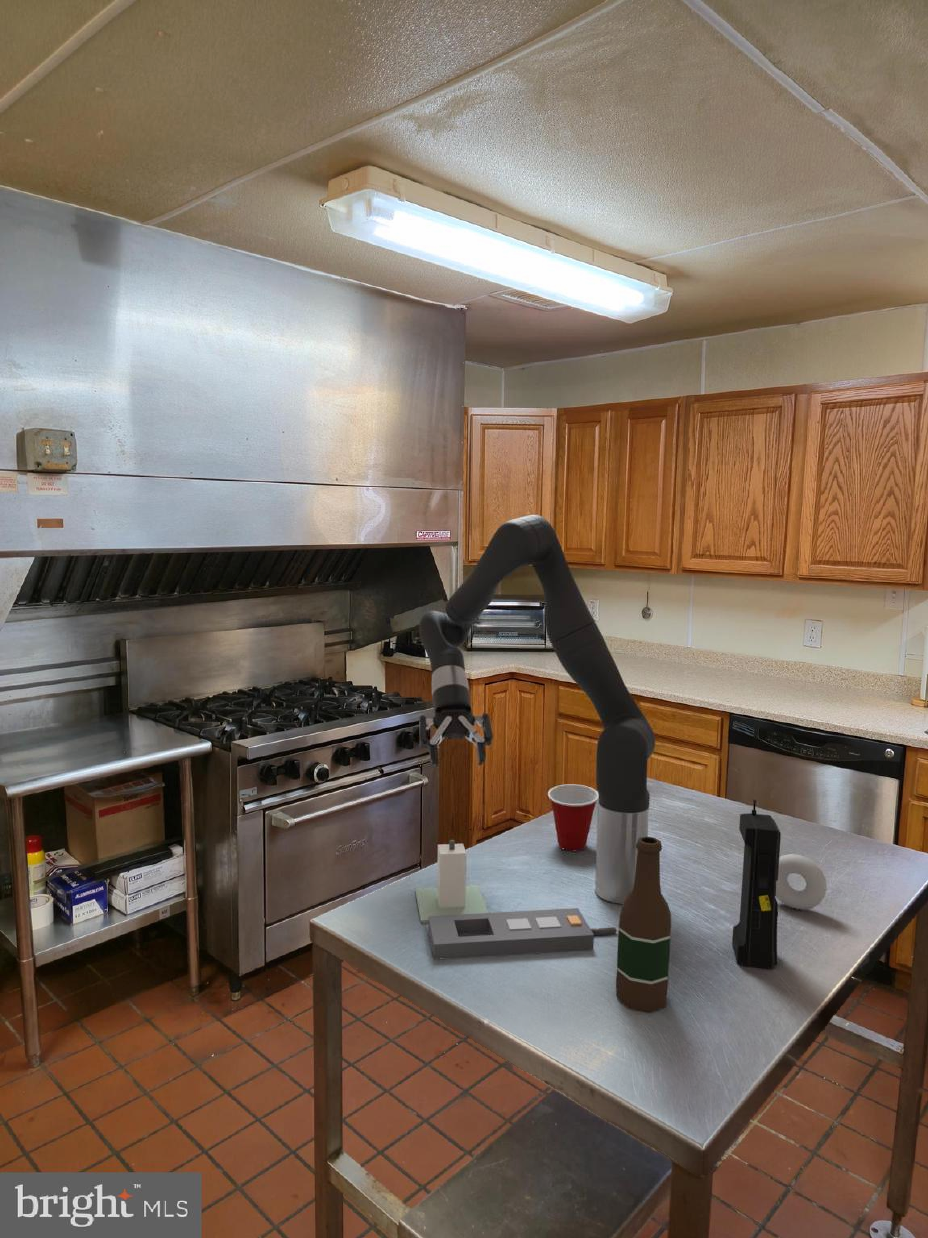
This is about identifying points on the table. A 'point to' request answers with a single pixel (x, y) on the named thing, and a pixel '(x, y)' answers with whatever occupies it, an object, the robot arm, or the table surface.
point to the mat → (431, 908)
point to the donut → (812, 877)
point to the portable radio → (758, 892)
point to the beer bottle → (644, 935)
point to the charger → (451, 875)
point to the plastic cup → (573, 814)
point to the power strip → (511, 933)
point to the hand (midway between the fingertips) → (458, 764)
